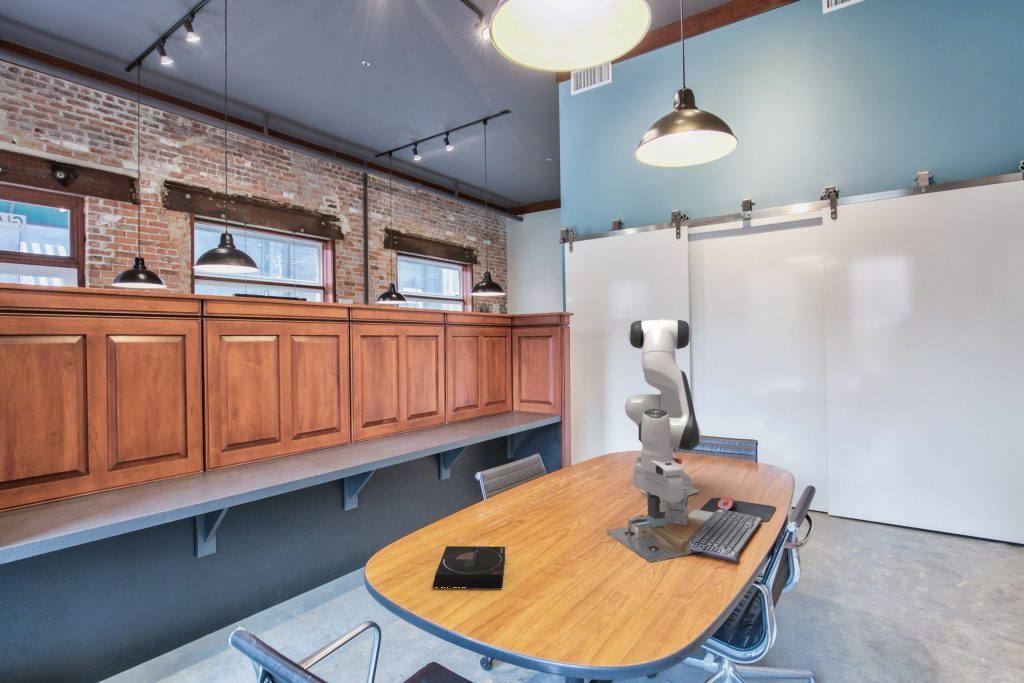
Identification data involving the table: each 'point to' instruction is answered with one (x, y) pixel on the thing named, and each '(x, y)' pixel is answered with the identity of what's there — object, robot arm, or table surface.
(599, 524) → the table surface
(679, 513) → the light bulb box
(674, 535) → the rail
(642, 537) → the bolt plate
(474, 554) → the portable cd player
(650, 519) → the sliding point
